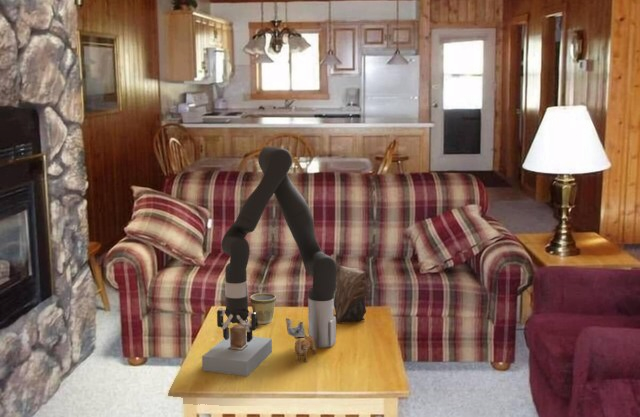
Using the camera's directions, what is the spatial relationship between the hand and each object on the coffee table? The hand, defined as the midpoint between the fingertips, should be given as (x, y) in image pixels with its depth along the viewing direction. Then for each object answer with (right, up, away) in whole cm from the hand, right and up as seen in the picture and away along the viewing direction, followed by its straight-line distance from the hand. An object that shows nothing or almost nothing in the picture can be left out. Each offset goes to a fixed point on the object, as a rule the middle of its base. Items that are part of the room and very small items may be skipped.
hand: (237, 340), depth 266 cm
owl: (+38, +1, +44) cm, 58 cm away
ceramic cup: (+6, +1, +43) cm, 43 cm away
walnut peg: (0, -7, +1) cm, 7 cm away
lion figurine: (+23, -7, +3) cm, 24 cm away
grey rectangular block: (0, -7, +1) cm, 7 cm away
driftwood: (+19, -2, +33) cm, 38 cm away
